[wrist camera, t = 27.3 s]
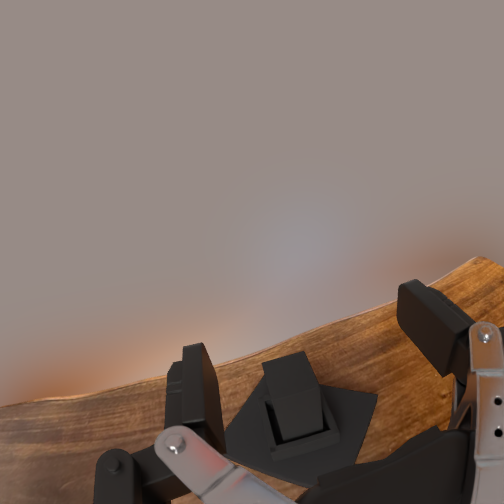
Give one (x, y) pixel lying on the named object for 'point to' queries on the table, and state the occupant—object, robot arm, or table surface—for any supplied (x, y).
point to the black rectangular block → (294, 396)
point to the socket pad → (309, 464)
